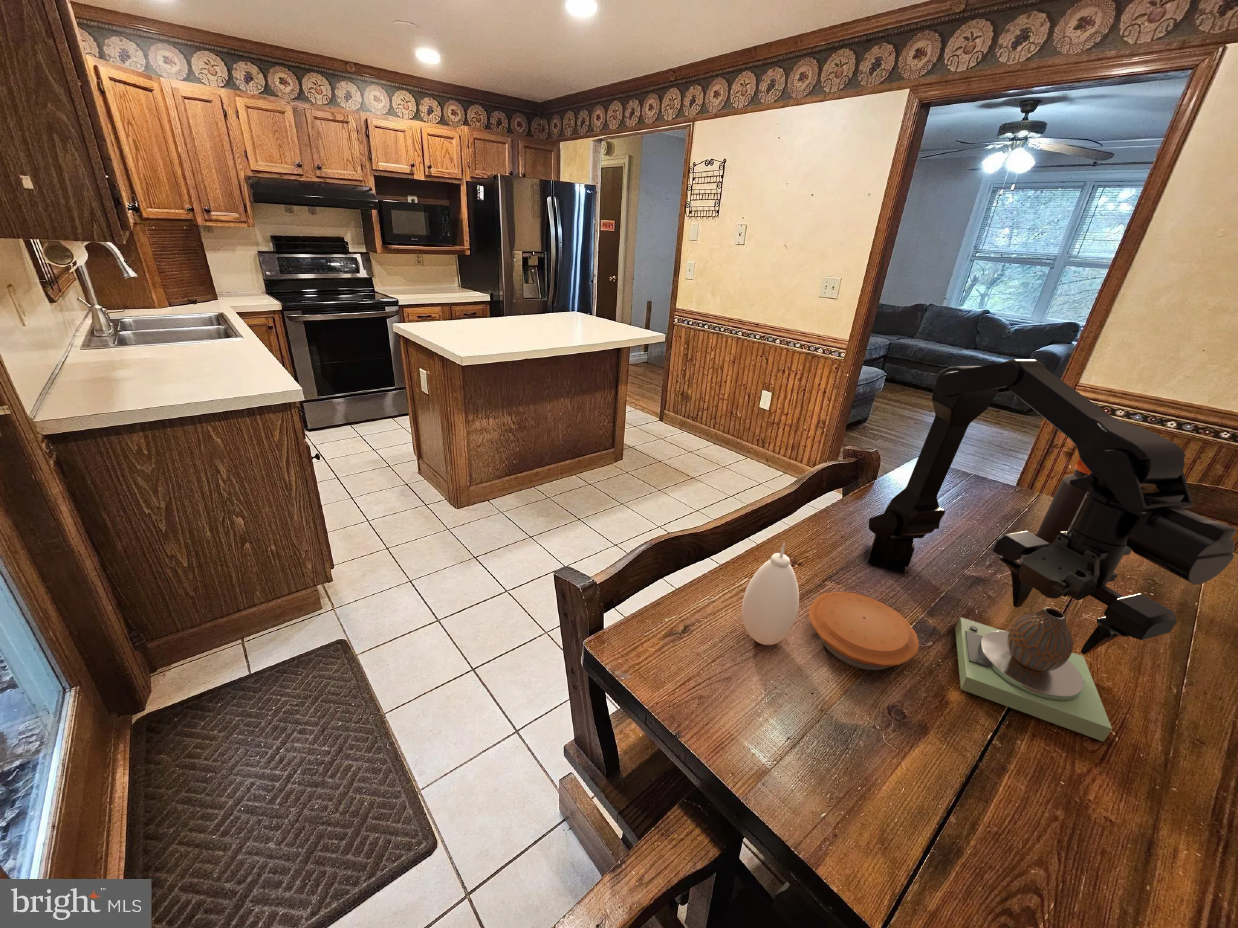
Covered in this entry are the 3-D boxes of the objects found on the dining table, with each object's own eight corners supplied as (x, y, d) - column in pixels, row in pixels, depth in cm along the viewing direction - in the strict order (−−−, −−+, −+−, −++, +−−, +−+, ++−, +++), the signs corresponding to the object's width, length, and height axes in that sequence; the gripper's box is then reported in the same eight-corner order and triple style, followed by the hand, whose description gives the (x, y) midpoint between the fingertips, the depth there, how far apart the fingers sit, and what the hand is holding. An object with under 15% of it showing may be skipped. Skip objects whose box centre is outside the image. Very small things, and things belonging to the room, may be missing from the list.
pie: (903, 622, 84) (912, 599, 82) (920, 696, 71) (931, 670, 69) (805, 598, 89) (811, 575, 86) (803, 664, 75) (811, 638, 73)
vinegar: (1070, 545, 109) (1114, 460, 100) (1075, 560, 104) (1122, 472, 95) (1032, 534, 112) (1071, 451, 103) (1034, 549, 107) (1076, 462, 98)
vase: (1070, 684, 70) (1099, 635, 66) (1014, 674, 71) (1040, 625, 67) (1043, 647, 76) (1068, 600, 72) (992, 638, 77) (1014, 592, 73)
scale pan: (983, 676, 71) (985, 672, 71) (975, 624, 81) (977, 620, 81) (1091, 714, 66) (1094, 710, 66) (1069, 653, 76) (1071, 649, 76)
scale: (960, 689, 72) (967, 675, 71) (954, 628, 84) (960, 615, 83) (1103, 741, 66) (1113, 727, 65) (1076, 668, 77) (1084, 654, 76)
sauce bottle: (754, 614, 84) (774, 521, 77) (797, 640, 80) (823, 543, 72) (727, 637, 79) (745, 540, 72) (771, 666, 74) (796, 565, 67)
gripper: (983, 503, 70) (946, 594, 76) (1144, 590, 54) (1079, 695, 60) (1042, 495, 73) (1002, 583, 79) (1211, 574, 57) (1142, 676, 63)
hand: (1048, 628), depth 71 cm, fingers open, 9 cm apart
